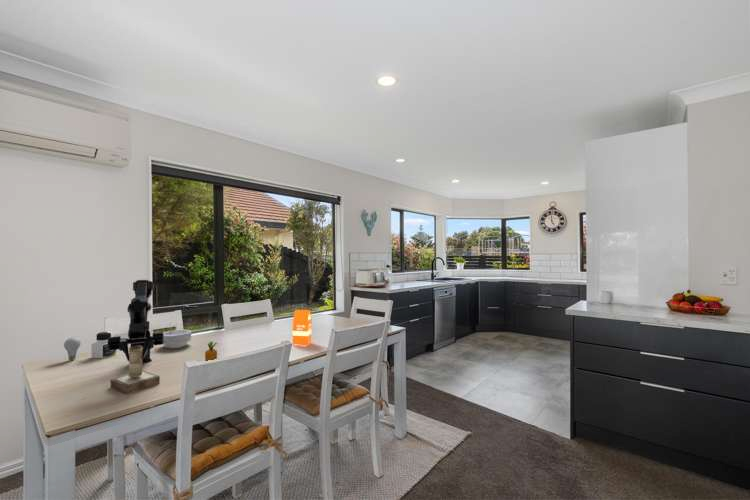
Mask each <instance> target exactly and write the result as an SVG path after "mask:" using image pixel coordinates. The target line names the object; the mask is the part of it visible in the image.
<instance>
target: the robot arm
mask: <svg viewBox="0 0 750 500" xmlns="http://www.w3.org/2000/svg"><path fill="white" fill-rule="evenodd" d="M154 284H155V283H154V281H150V280H148V279H137V280H135V281H134V282H132V291H133V292H134V295H135V296H134V297H133V298H131V300H130V304H129V303H128V306H127V313H128V314H129V319H130V320H129V321H130V322H129V325H128V331H127V336H128V338H126V337H124V338H123V337H121V336H120V335H119V336H118V335H117V336H112V337H110V338H109V339H108V348H109V350H116V351H117V350H119V351H120V352H121V351H122V353H124V356H125V358H126V361H127V362H129V345H130V347H131V346H134V345H142V347H143V352H142V364H145V363H148V362H151V361H153V359H151V349H153V348H154V347H155V346H160V345H164V344H163V340H164V332H162V331H160V332H152V335H151V332H150V320H148V313H149V312H150V311H151V309H152V304H151V303H150V302H149V299H150V297H151V296H152V295H153V294H152V293H153V291H154V290H155V289H154V287H155V285H154Z"/></svg>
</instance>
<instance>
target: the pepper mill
mask: <svg viewBox="0 0 750 500" xmlns="http://www.w3.org/2000/svg"><path fill="white" fill-rule="evenodd" d="M128 351H129V361H128V375H129V377H138V376H141V375H142V371H143V363H142V352H143V347H142V345H134V346H131V345H130V347H128Z"/></svg>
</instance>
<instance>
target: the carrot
mask: <svg viewBox="0 0 750 500" xmlns="http://www.w3.org/2000/svg"><path fill="white" fill-rule="evenodd" d="M217 344H218V342H213V341H209V342H208V343H207V346H208V349H207V350H205V352H204V361H208V360H214V359H217V360H218V350H217V349H214V347H215V346H216V345H217Z"/></svg>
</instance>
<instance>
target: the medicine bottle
mask: <svg viewBox="0 0 750 500" xmlns="http://www.w3.org/2000/svg"><path fill="white" fill-rule="evenodd" d="M112 335H113V333H112V332H111V331H102V332H99V333H97V334H96V336H95V337H96V340H95V341H96V342H92V343H91V359H93V358H94V359H106V358H110V357H112V356H116V355H117V350H109V348H108V339H109V338H110V337H113V336H112Z"/></svg>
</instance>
